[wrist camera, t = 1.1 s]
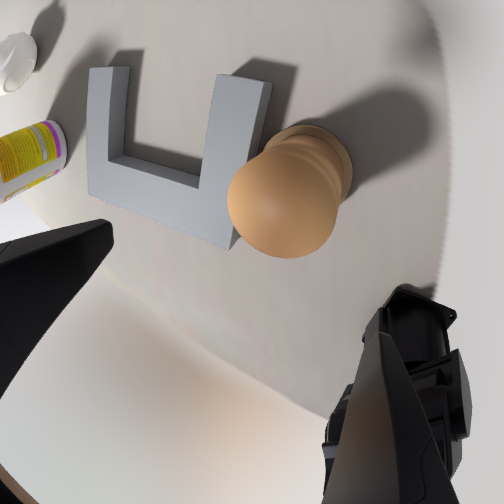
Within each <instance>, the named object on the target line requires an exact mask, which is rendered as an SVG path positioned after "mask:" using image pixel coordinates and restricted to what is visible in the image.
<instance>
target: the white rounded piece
mask: <svg viewBox="0 0 504 504" xmlns="http://www.w3.org/2000/svg"><path fill="white" fill-rule="evenodd" d="M36 59H37V46H36V43H35V41H34V39H33V37H32V36H29V35H28V34H26V33H25V32H21V33H18V34H12V35H9V36H8V37H6V38H5V39H4V40H3V41H1V42H0V95H5V94H9V93H11V92H14V91H15V90H17V89H18V88H20V87H21V86H22V85H23V84H24V83H25V82H26V81H27V80H28V78H29V77H30V76H31V74H32V72H33V70H34V67H35V64H36Z"/></svg>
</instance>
